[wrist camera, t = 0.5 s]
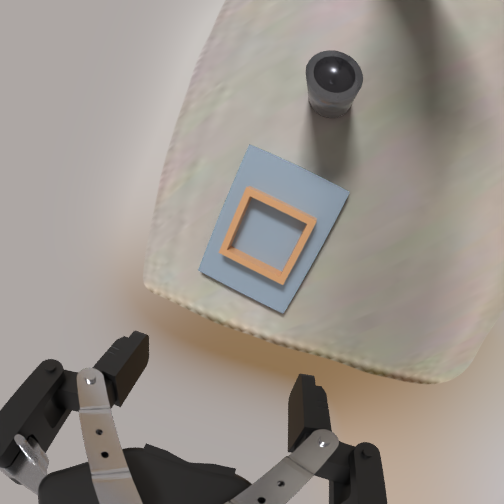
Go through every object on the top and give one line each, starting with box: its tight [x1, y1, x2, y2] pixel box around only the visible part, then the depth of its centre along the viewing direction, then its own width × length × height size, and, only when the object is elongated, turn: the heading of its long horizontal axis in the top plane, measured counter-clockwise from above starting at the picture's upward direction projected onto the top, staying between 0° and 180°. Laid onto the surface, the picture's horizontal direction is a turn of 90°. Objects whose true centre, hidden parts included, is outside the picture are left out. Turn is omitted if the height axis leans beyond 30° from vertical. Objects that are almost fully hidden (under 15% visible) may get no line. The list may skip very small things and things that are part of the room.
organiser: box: [198, 144, 350, 313], centre depth 33 cm, size 18×13×3 cm
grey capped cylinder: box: [306, 51, 363, 118], centre depth 24 cm, size 5×5×9 cm
